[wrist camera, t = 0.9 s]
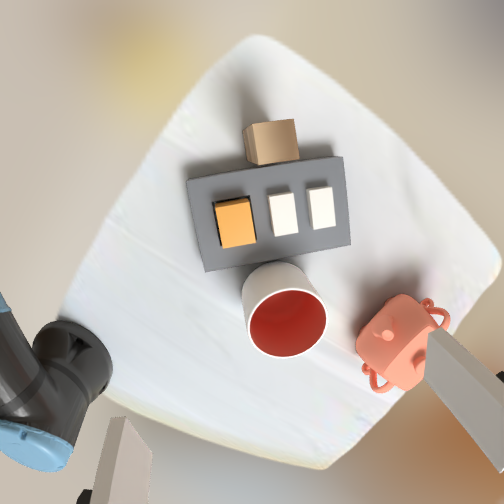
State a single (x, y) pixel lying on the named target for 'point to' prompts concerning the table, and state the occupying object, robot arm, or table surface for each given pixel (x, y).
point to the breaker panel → (260, 211)
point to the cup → (282, 310)
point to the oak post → (271, 142)
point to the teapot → (398, 342)
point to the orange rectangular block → (235, 223)
